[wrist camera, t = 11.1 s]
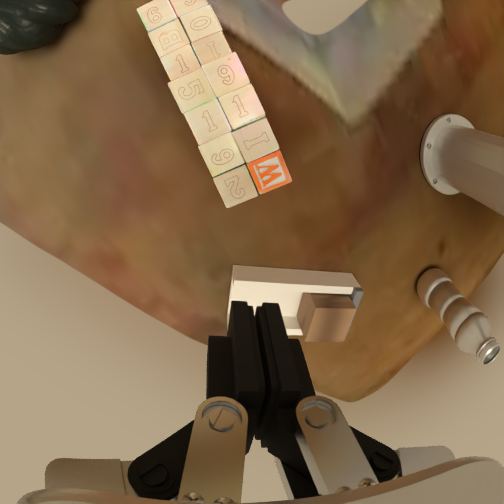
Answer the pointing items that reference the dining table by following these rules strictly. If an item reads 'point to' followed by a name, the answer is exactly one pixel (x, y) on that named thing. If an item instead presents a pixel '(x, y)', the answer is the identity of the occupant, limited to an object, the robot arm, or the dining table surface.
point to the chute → (288, 289)
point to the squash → (32, 22)
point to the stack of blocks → (215, 99)
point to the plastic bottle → (458, 315)
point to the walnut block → (325, 316)
